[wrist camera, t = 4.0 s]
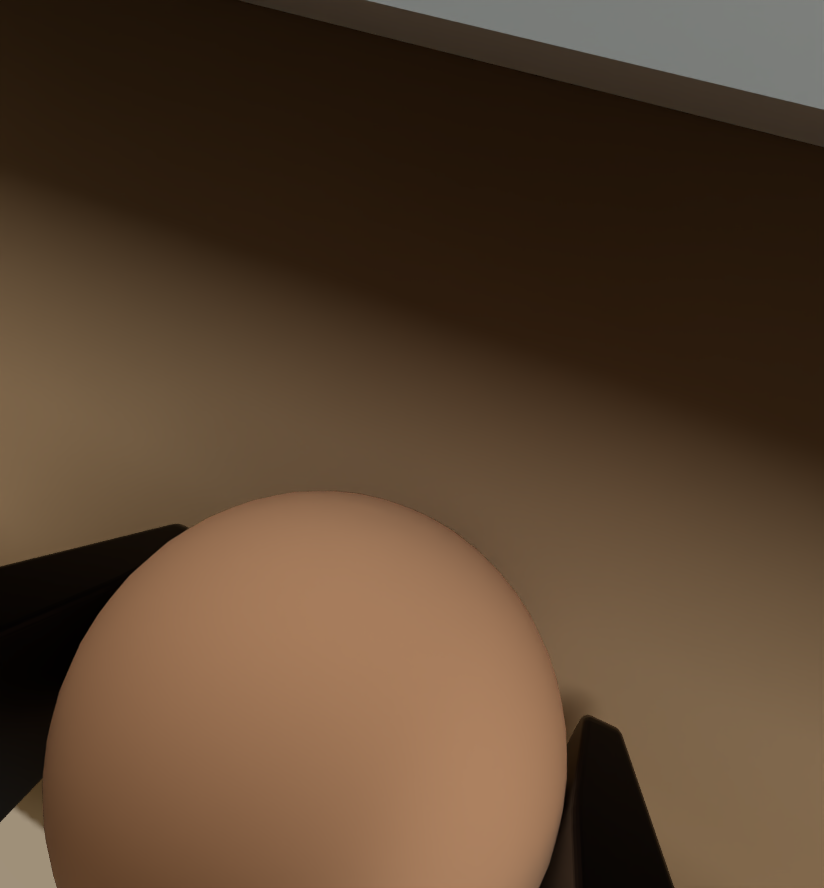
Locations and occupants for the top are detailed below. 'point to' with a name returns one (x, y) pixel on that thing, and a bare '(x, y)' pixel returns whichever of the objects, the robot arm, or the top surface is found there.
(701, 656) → the top surface
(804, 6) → the gray wall
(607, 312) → the top surface
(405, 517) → the ball
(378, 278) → the top surface
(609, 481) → the top surface
